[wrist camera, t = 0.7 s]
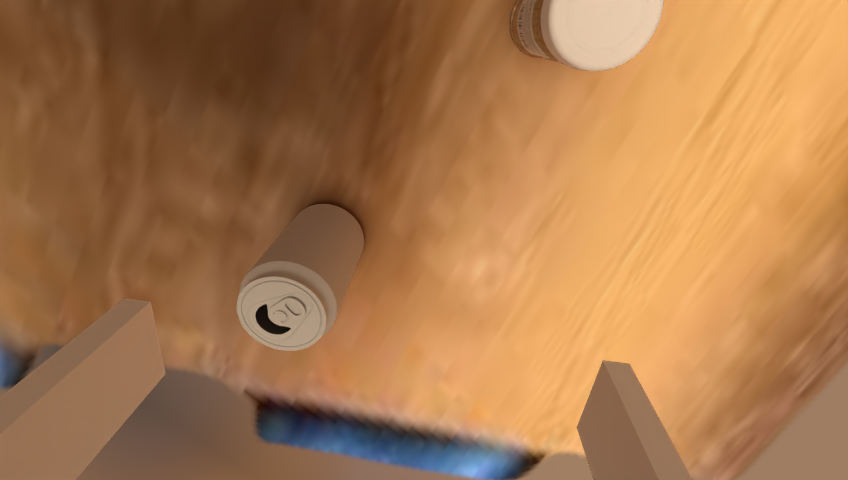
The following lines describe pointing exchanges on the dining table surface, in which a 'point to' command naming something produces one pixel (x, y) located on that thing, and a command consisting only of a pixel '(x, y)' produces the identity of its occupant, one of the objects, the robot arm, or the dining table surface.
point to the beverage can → (301, 279)
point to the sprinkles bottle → (584, 30)
